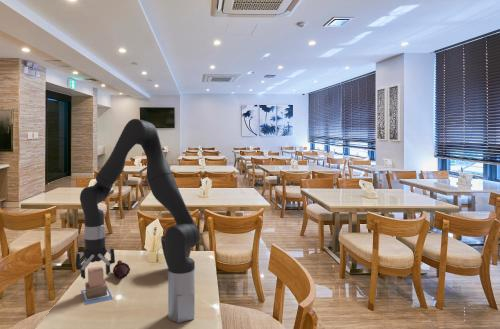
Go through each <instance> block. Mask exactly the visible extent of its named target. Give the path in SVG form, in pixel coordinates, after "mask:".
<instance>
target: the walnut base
mask: <svg viewBox="0 0 500 329" xmlns="http://www.w3.org/2000/svg"><path fill="white" fill-rule="evenodd" d="M84 285H85V290H86V295H87V298H88V299H92V298H96V297H101V296H106V295H107V287H108V284H107V283H106V281H105V279H104V285H102V286H97V287H91V288H90V286H89V284H88V281H87V282H84Z"/></svg>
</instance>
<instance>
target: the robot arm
mask: <svg viewBox="0 0 500 329" xmlns="http://www.w3.org/2000/svg"><path fill="white" fill-rule="evenodd" d="M135 145H140V146H141V147H142V150H143V153H144V154H145V156H146V162H147V166H146V180H147V183H148V186H149V189H150V191H151V194H152V196H153V197H154V199H155V200H156V201H157V202H159V203H160V204H161V205H162V206H163V207H164V208H165V209H167V211H168V212H169V213H170V214H171V215H172V217H173V219H174V221H175V225H172V226H169V227H168V228H167V229H166V231H165V234H164V235H165V252H166V260H165V262H166V261H167V263H166V265H167V264H168V266H167V282H168V283H167V285H168V286H167V303H168V304H167V307H168V308H167V309H168V310H167V311H168V313H167V314H168V316H167V317H168V319H169V320H170V321H172V322H176V323H177V324H181V323H184V322H187V321H188V322H189V321H191V320H194V319H195V308H196V307H195V305H196V304H195V292H196V291H195V289H196V288H195V286H196V285H195V282H196V281H195V280H196V279H195V278H196V276H195V275H196V274H195V272H196V271H195V270H196V265H195V260H194V258H191V257H190V256H189V257H186V253H185V250H186V249H189V248H191V249H192V248H194V247H197V245H198V244H199V242H200V232H199V228H198V226H197V224H196V223H195V220H194V218H193V216H192V215H191V213H190V211H189V210H188V208H187V207H188V206H186V203H185V201H184V199H183V196H182V194H181V192H180V190H179V187H178V184H177V182H176V180H175V177H174V174H173V172H172V169H171V168H170V165H169V163H168V160H167V158H166V155H165V152H164V150H163V148H162V143H161V140H160V136H159V133H158V131H157V127H156V126H155V125H154V124H153V123H152V122H149V121H147V120H143V119H139V118H133V119H130V120H129V121H127V123H126V125H125V126H124V128H123V130H122V131H121V134H120V136H119V137H118V140H117V141H116V143H115V145H114V147H113V149H112V151H111V154H109V157H108V158H107V160H106V161H105V163H104V164H103V165H102V167H101V168H100V170H99V171H98V172H97V174H96V176H95V181H96V183H94V185H90V186H87V187H84V188H83V189H82V190H81V192H80V194H79V202H80V205H81V209H82V212H83V215H84V232H83V238H84V250H83V252H78V251H77V252H75V269H76V270H80V276H81V278H82V279H83V280H84V279H86V269H85V268H87V266H88V265H89V264H90V263H95V262H101V261H102V262H103V263H105V275H109V274H110V273H111V265H112V264H115V262H116V259H115V249H114V248H113V247H109V248H106V227H105V212H104V210H103V209H100V208H99V205H98V204H99V203H102V202H103V201H105V200H106V199H107V198H108V196H109V195H110V192H111V191H112V188H113V186H114V184H115V183H116V182H117V181H118V179H119V177H120V176H121V175H122V173H123V171H124V169H125V166H126V165H125V164H126V159H127V156H128V154H129V152H130V151H131V150H132V148H134V147H135ZM107 253H108V255H110V257H109V258H110V259H109V260H108V259H107V258H106V254H107ZM82 257H85V259H84V260H83V262H82V263H81V264H80V261H81V259H82Z"/></svg>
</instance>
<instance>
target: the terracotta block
mask: <svg viewBox="0 0 500 329" xmlns="http://www.w3.org/2000/svg"><path fill="white" fill-rule="evenodd" d="M104 274H105V273H104V269H103V266H102V265H99V266H95V267H89V268H88V269H87V279H88V280H87V282H88V284H89V286H90V288H91V287H97V286H102V285H104V280H105V277H104Z"/></svg>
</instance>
